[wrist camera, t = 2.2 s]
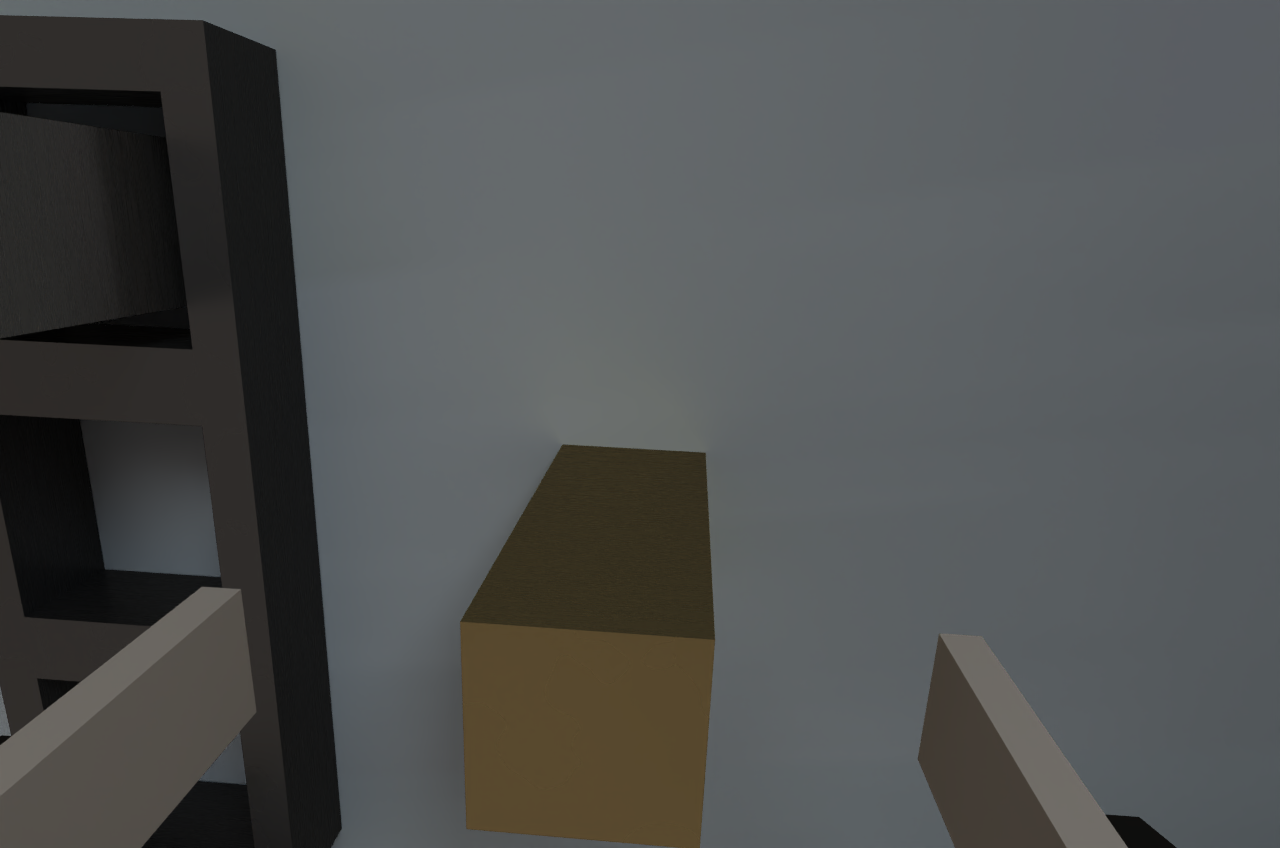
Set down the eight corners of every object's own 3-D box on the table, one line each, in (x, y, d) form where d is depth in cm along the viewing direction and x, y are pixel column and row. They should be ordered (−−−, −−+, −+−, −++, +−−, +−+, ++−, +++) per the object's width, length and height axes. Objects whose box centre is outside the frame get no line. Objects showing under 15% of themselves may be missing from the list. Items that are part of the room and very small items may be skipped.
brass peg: (697, 583, 23) (699, 849, 13) (561, 574, 23) (466, 828, 13) (705, 452, 22) (714, 639, 12) (562, 444, 22) (460, 621, 12)
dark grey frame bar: (341, 828, 26) (298, 903, 23) (113, 808, 27) (43, 879, 24) (275, 49, 20) (203, 20, 17) (-28, 41, 20) (-149, 11, 17)
